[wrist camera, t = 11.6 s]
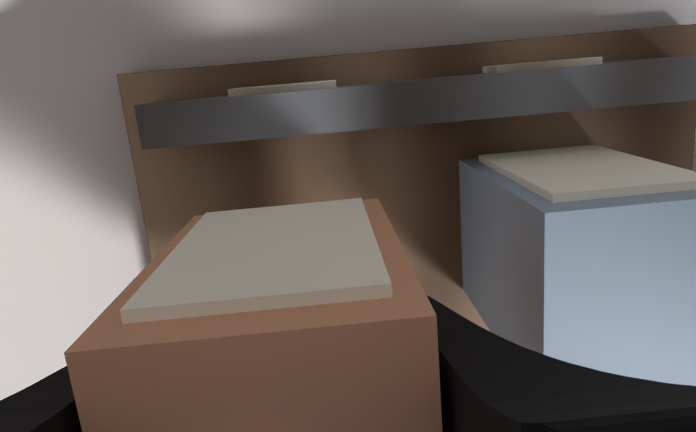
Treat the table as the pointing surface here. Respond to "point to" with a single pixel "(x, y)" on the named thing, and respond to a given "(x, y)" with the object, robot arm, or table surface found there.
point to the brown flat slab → (400, 129)
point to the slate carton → (584, 257)
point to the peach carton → (266, 330)
